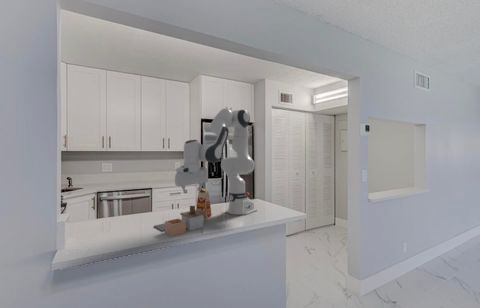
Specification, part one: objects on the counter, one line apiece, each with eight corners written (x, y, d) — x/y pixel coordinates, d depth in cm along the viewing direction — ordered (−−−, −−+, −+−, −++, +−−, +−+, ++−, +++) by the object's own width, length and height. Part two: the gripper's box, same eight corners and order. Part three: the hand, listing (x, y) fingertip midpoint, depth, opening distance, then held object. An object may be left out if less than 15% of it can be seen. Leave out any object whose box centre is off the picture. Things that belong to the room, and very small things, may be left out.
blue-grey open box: (195, 223, 144) (194, 211, 144) (203, 226, 137) (203, 214, 137) (181, 226, 138) (181, 214, 137) (189, 230, 131) (189, 217, 131)
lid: (195, 211, 144) (195, 203, 144) (204, 214, 137) (204, 206, 137) (180, 214, 137) (180, 206, 137) (189, 218, 130) (189, 209, 130)
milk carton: (207, 219, 150) (207, 188, 150) (193, 219, 152) (193, 188, 152) (212, 215, 159) (212, 186, 159) (199, 215, 161) (199, 185, 161)
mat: (171, 222, 145) (171, 221, 145) (180, 227, 137) (180, 226, 137) (153, 226, 137) (153, 225, 137) (162, 231, 129) (162, 230, 129)
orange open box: (178, 228, 133) (178, 218, 133) (185, 232, 128) (185, 221, 127) (164, 232, 128) (164, 221, 128) (171, 236, 122) (171, 224, 122)
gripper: (203, 166, 146) (204, 188, 146) (173, 169, 132) (173, 193, 132) (209, 167, 141) (210, 190, 142) (178, 170, 127) (179, 195, 128)
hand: (192, 191), depth 137 cm, fingers open, 8 cm apart
